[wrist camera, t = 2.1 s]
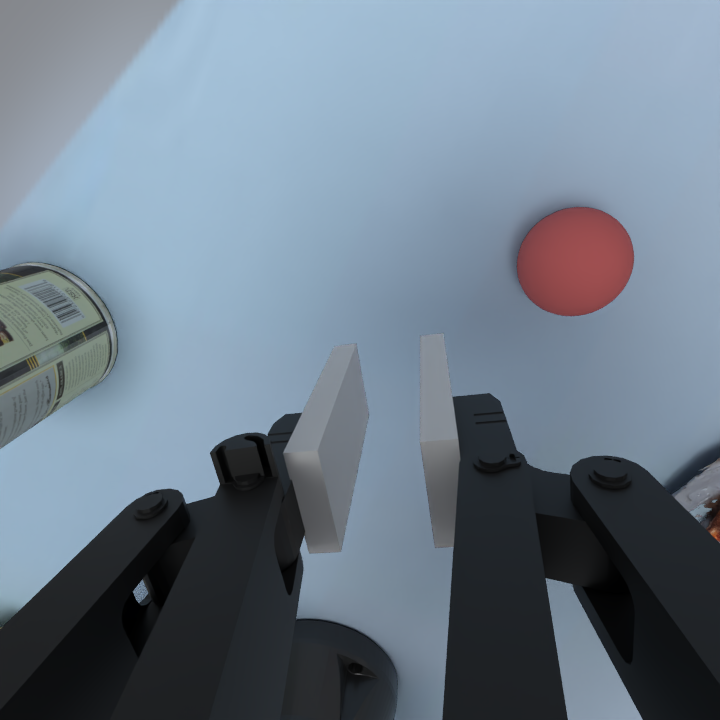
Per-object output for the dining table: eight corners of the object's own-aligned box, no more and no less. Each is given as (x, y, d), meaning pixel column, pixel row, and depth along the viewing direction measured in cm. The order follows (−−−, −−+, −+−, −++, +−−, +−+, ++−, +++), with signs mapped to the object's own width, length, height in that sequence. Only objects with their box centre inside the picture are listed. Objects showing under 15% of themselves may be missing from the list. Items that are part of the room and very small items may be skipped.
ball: (609, 294, 30) (651, 322, 25) (511, 306, 31) (530, 336, 26) (610, 195, 28) (657, 202, 23) (506, 212, 29) (526, 222, 24)
